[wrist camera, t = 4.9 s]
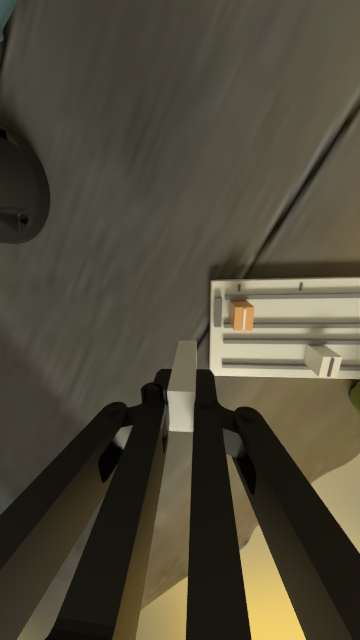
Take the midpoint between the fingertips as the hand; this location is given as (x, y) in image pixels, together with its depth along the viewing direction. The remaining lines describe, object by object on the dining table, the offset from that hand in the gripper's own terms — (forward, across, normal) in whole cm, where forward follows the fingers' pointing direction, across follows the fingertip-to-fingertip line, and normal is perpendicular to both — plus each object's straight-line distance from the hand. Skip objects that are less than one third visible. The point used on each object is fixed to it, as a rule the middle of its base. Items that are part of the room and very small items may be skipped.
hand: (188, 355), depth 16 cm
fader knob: (+14, +7, 0) cm, 15 cm away
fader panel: (+16, +16, -3) cm, 22 cm away
